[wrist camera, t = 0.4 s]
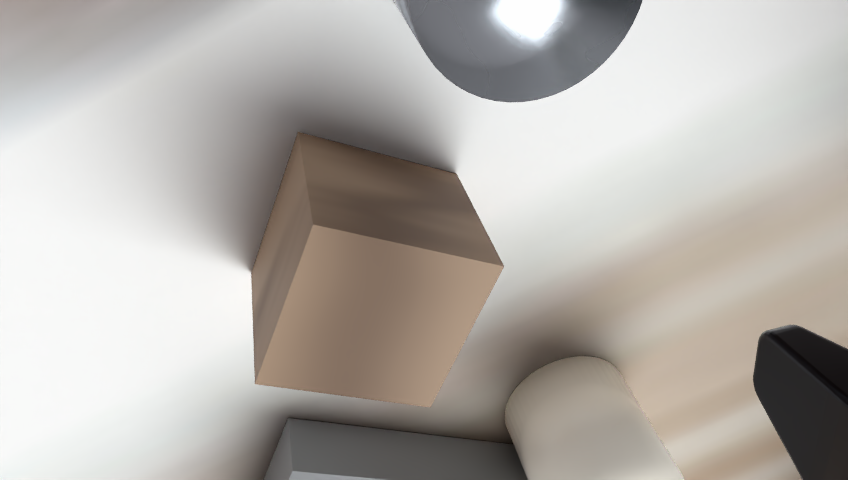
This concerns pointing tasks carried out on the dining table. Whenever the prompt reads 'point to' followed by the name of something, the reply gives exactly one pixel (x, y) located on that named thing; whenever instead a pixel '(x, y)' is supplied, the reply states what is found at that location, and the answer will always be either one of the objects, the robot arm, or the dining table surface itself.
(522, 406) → the ivory round canister
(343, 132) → the dining table surface
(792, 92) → the dining table surface
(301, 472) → the gray tray
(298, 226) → the walnut block
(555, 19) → the slate cylinder
